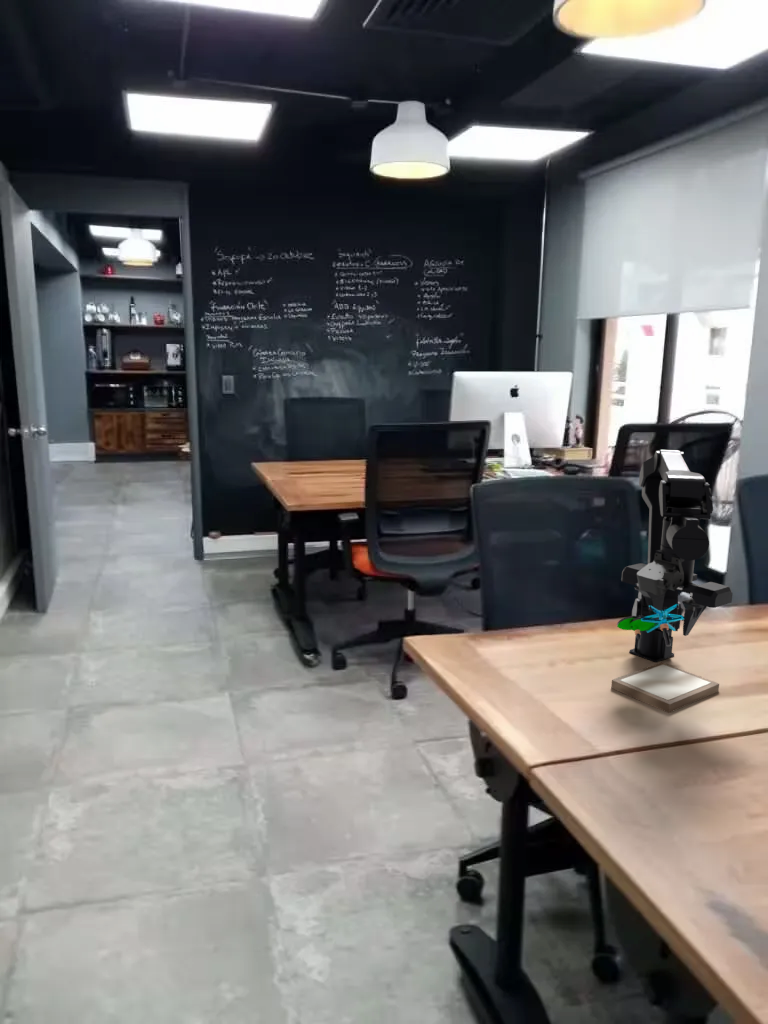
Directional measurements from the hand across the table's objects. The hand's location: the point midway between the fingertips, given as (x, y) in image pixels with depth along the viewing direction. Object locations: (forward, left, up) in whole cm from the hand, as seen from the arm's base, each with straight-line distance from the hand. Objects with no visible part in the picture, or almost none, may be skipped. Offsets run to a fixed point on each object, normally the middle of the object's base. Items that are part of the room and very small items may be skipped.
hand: (670, 630), depth 136 cm
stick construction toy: (-2, -1, -2) cm, 3 cm away
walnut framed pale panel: (0, 0, -12) cm, 12 cm away
